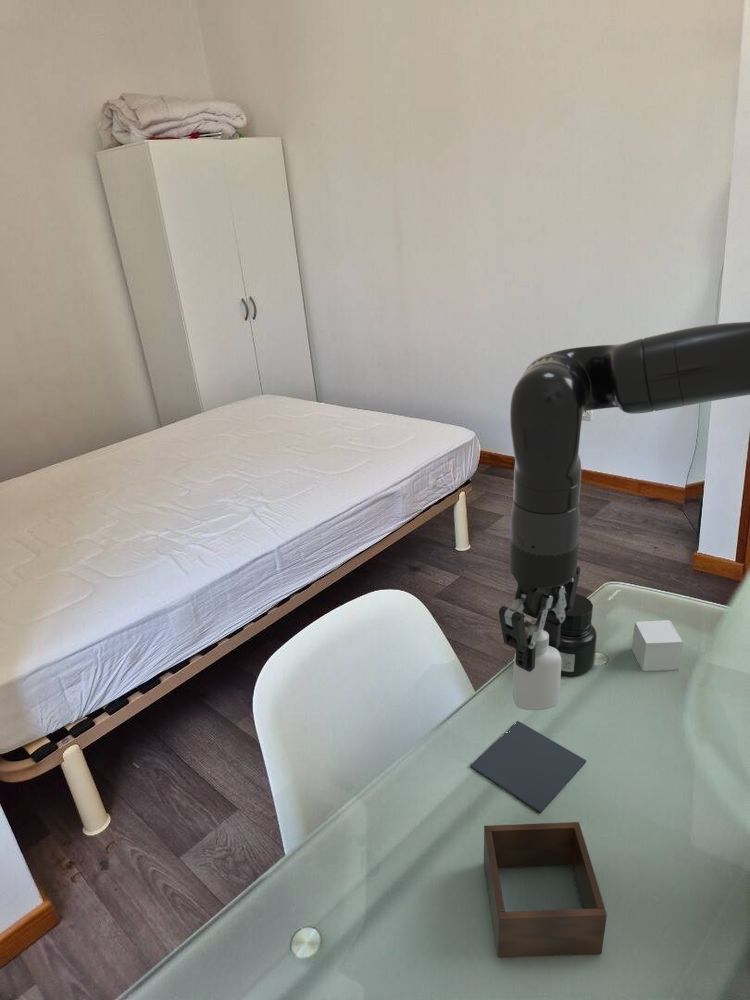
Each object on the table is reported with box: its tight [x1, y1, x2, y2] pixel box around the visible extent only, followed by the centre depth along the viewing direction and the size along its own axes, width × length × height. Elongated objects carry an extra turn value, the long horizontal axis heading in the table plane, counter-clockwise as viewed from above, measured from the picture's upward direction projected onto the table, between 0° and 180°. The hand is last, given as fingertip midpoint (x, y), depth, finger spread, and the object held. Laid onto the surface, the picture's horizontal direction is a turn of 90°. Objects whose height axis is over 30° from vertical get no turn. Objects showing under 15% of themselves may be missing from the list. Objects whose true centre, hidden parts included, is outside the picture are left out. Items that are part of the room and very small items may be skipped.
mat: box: [470, 720, 587, 814], centre depth 101 cm, size 12×12×1 cm
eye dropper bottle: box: [512, 629, 562, 711], centre depth 85 cm, size 4×6×12 cm
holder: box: [483, 821, 608, 958], centre depth 81 cm, size 12×12×7 cm
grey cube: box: [631, 619, 684, 672], centre depth 118 cm, size 6×6×6 cm
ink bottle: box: [556, 592, 598, 677], centre depth 118 cm, size 10×9×12 cm
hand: (538, 655), depth 84 cm, fingers closed on eye dropper bottle, 5 cm apart
